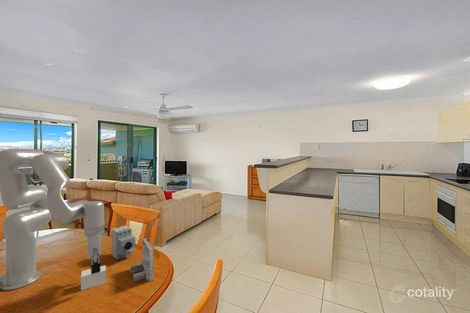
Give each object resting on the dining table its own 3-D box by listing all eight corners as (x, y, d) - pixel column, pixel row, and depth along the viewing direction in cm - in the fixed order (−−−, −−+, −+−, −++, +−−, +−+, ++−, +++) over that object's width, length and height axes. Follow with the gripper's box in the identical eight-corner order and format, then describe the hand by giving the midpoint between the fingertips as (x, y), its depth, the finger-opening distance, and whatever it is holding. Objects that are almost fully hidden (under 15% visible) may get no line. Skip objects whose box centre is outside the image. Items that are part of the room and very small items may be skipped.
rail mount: (134, 286, 90) (134, 254, 90) (129, 269, 103) (129, 241, 103) (153, 280, 94) (153, 250, 94) (145, 264, 108) (145, 238, 107)
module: (81, 290, 87) (81, 276, 87) (81, 284, 91) (81, 270, 91) (105, 283, 92) (106, 269, 92) (105, 277, 96) (105, 264, 96)
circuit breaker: (122, 263, 109) (122, 235, 108) (111, 255, 117) (111, 229, 117) (136, 257, 115) (136, 231, 114) (124, 250, 123) (124, 225, 123)
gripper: (84, 226, 96) (85, 262, 96) (83, 238, 82) (84, 280, 82) (103, 222, 100) (104, 257, 101) (105, 233, 86) (106, 273, 86)
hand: (95, 267), depth 91 cm, fingers open, 9 cm apart
